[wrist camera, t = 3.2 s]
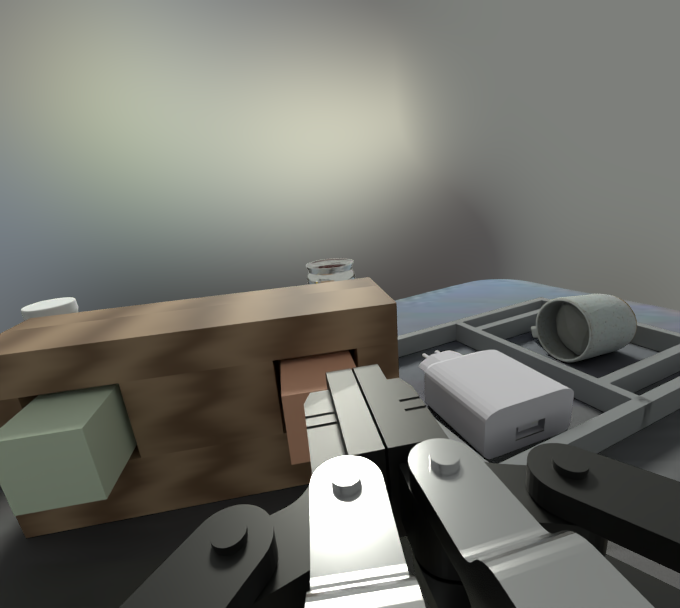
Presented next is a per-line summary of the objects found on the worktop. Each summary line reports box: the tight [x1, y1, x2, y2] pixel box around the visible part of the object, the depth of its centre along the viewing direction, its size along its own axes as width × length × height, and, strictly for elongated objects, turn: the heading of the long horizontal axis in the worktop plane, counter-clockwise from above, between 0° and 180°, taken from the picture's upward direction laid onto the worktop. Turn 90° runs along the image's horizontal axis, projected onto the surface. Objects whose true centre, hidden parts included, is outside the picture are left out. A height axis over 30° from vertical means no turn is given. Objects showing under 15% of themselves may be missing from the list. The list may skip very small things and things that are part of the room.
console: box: [0, 277, 399, 538], centre depth 30 cm, size 28×8×14 cm, turn 99°
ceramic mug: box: [531, 294, 637, 362], centre depth 46 cm, size 11×8×8 cm
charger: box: [418, 350, 574, 459], centre depth 37 cm, size 5×9×15 cm
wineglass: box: [306, 258, 355, 285], centre depth 52 cm, size 7×7×12 cm
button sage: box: [0, 384, 137, 516], centre depth 23 cm, size 5×5×5 cm
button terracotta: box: [280, 350, 356, 465], centre depth 25 cm, size 5×5×5 cm
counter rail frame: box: [398, 297, 680, 465], centre depth 42 cm, size 35×24×2 cm
